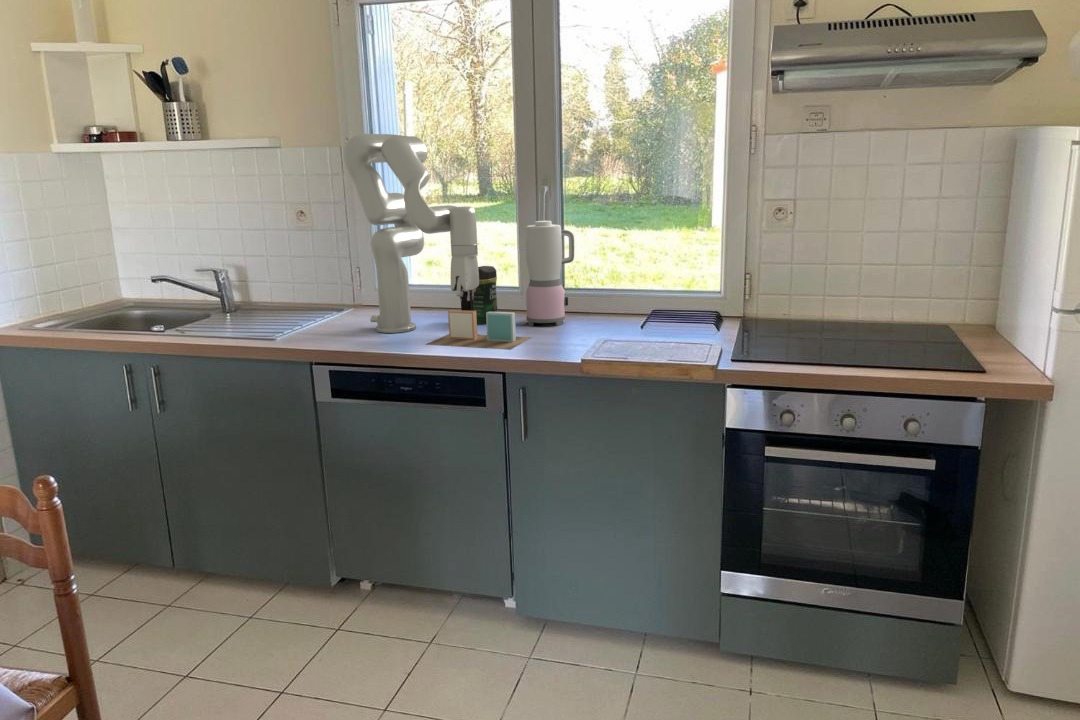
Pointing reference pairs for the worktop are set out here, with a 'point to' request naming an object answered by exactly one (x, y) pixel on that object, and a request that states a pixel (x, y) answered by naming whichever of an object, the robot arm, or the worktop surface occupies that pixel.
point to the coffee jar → (485, 293)
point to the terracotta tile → (462, 324)
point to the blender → (546, 272)
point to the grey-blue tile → (501, 326)
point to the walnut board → (478, 342)
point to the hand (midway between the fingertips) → (467, 313)
